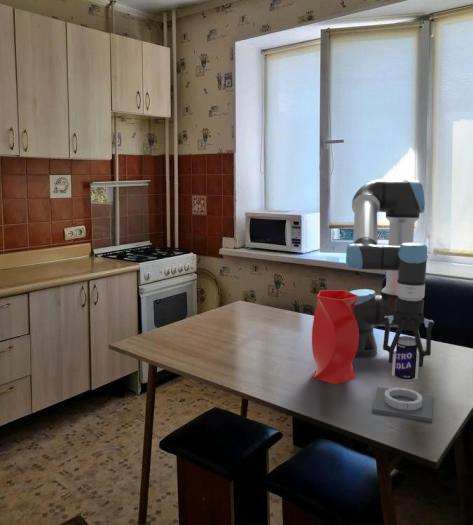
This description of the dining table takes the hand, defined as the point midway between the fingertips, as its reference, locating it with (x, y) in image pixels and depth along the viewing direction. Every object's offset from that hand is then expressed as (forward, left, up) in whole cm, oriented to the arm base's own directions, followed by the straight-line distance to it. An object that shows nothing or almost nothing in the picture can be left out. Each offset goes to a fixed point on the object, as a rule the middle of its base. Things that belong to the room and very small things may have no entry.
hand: (404, 375), depth 147 cm
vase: (-22, +15, -10) cm, 28 cm away
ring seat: (0, 0, -9) cm, 9 cm away
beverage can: (0, 0, -1) cm, 1 cm away
